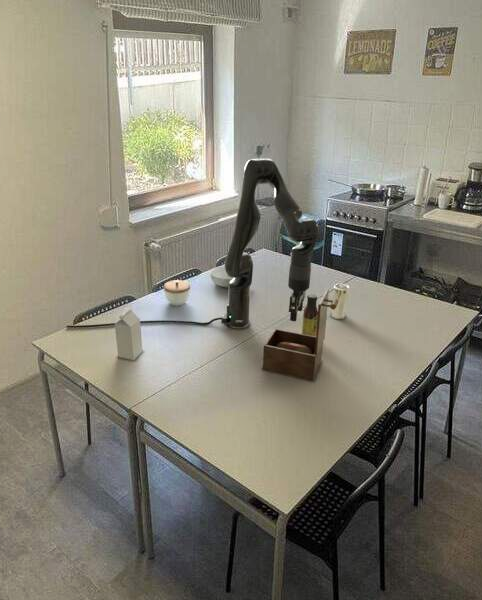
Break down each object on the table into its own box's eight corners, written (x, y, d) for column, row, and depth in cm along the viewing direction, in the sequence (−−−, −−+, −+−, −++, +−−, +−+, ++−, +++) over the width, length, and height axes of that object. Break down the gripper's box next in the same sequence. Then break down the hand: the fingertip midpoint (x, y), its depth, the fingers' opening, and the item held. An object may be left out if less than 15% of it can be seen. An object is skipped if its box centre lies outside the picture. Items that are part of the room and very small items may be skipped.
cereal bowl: (207, 289, 251) (207, 276, 248) (214, 276, 266) (213, 264, 263) (240, 292, 249) (240, 279, 246) (244, 279, 264) (245, 267, 260)
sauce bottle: (315, 342, 205) (319, 300, 196) (300, 341, 206) (304, 298, 197) (316, 335, 211) (320, 293, 202) (301, 333, 212) (305, 292, 203)
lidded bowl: (176, 294, 246) (175, 274, 241) (195, 301, 239) (195, 280, 234) (159, 303, 236) (157, 282, 231) (178, 310, 230) (178, 289, 225)
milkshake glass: (336, 320, 223) (340, 291, 216) (327, 314, 228) (330, 285, 222) (348, 317, 226) (352, 288, 219) (339, 311, 231) (342, 282, 225)
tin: (272, 361, 191) (273, 342, 187) (275, 357, 193) (276, 338, 190) (310, 369, 186) (312, 350, 182) (312, 365, 189) (314, 346, 185)
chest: (262, 369, 187) (263, 345, 182) (273, 351, 199) (274, 328, 194) (313, 381, 181) (315, 356, 176) (321, 361, 192) (323, 337, 188)
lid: (318, 304, 167) (333, 306, 165) (326, 288, 179) (341, 290, 177) (314, 355, 176) (329, 358, 174) (322, 336, 188) (336, 339, 186)
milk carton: (142, 351, 197) (139, 309, 189) (133, 360, 191) (130, 317, 183) (127, 348, 199) (123, 306, 191) (118, 357, 193) (113, 314, 185)
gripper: (294, 266, 180) (291, 305, 187) (283, 280, 168) (280, 322, 175) (314, 269, 177) (310, 309, 185) (305, 284, 165) (301, 326, 173)
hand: (296, 315), depth 180 cm, fingers open, 8 cm apart
